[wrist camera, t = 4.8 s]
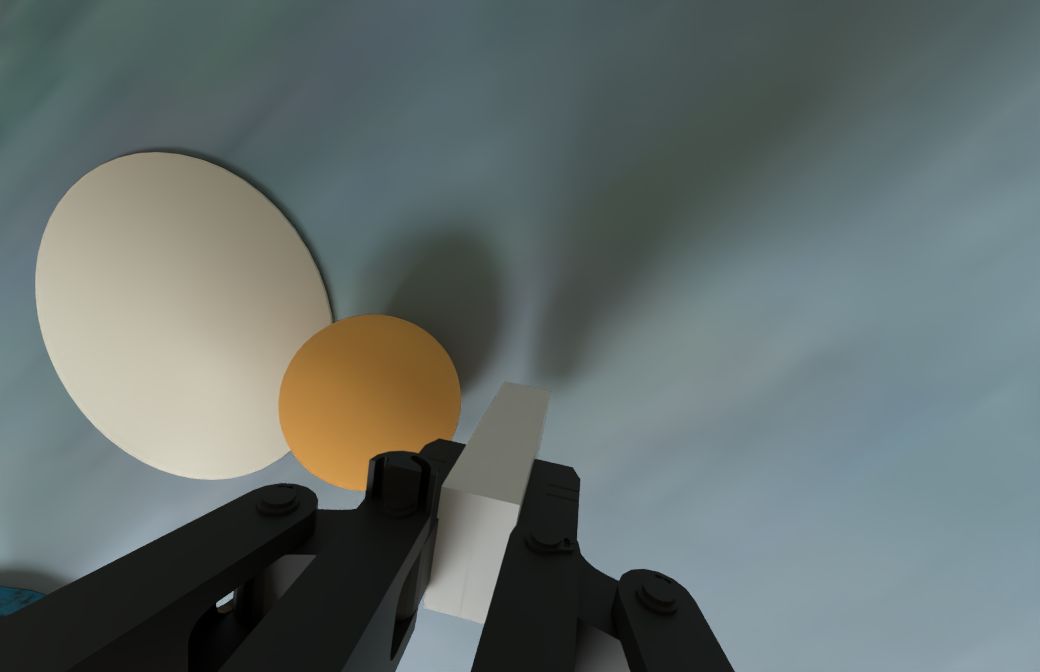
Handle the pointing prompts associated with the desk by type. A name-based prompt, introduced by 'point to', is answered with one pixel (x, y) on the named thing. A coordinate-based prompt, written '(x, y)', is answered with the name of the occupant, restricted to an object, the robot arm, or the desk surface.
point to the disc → (177, 311)
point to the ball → (366, 396)
